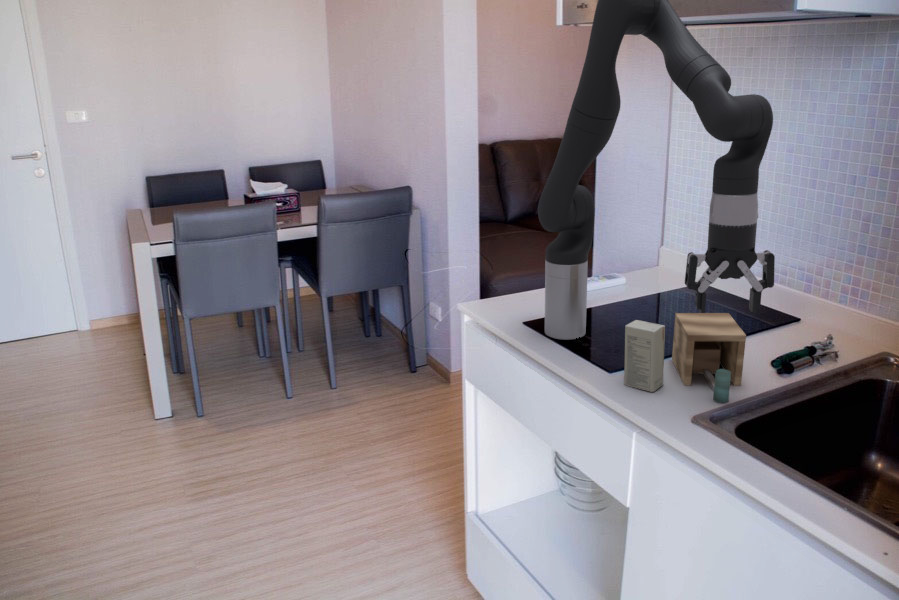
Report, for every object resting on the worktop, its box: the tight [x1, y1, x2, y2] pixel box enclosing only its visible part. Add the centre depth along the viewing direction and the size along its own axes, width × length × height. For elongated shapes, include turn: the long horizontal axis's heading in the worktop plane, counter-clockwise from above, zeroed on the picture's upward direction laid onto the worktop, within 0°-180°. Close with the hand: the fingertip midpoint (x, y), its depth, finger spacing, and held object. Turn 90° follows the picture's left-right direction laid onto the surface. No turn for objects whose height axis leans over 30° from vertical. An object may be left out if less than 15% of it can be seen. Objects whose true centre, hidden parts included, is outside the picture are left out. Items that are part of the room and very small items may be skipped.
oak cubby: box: [671, 312, 747, 387], centre depth 145 cm, size 12×10×10 cm
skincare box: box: [623, 319, 666, 393], centre depth 140 cm, size 6×4×12 cm
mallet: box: [692, 341, 731, 404], centre depth 142 cm, size 18×5×6 cm, turn 175°
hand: (726, 311), depth 129 cm, fingers open, 8 cm apart
